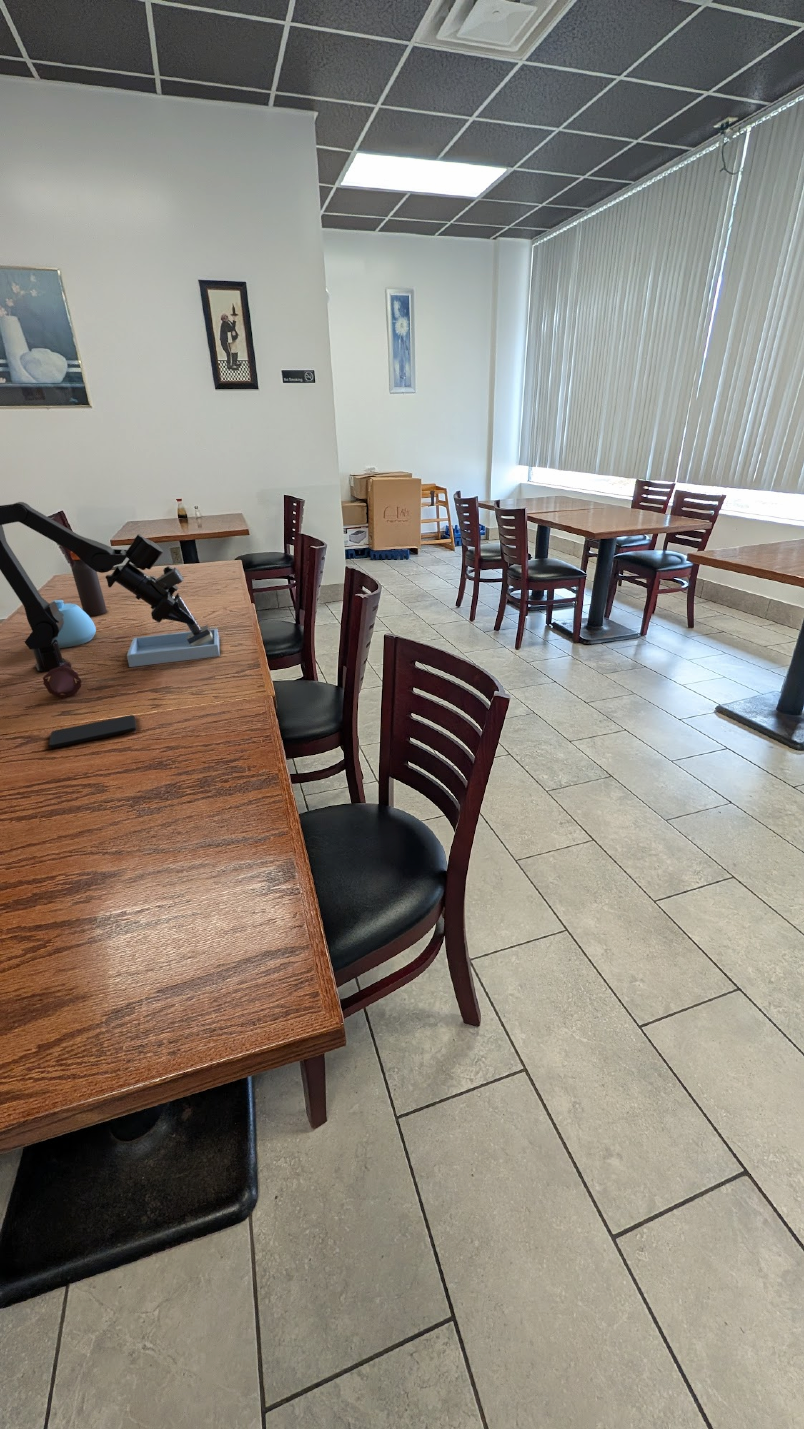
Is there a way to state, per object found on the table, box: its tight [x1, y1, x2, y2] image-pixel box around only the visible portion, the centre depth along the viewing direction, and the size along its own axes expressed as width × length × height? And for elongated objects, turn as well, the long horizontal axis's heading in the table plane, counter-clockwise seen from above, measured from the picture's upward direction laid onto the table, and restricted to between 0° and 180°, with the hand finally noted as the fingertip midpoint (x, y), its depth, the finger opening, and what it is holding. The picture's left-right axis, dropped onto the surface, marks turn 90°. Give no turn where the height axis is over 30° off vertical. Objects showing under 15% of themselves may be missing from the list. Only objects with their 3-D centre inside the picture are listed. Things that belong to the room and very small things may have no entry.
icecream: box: [42, 661, 82, 698], centre depth 129 cm, size 7×7×15 cm
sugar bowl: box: [51, 599, 97, 649], centre depth 163 cm, size 15×15×12 cm
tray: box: [126, 628, 220, 668], centre depth 153 cm, size 22×15×3 cm
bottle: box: [70, 551, 108, 617], centre depth 187 cm, size 7×7×20 cm
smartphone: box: [48, 714, 137, 749], centre depth 112 cm, size 7×1×15 cm
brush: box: [173, 595, 213, 647], centre depth 153 cm, size 6×4×13 cm
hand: (194, 621), depth 153 cm, fingers closed on brush, 2 cm apart
